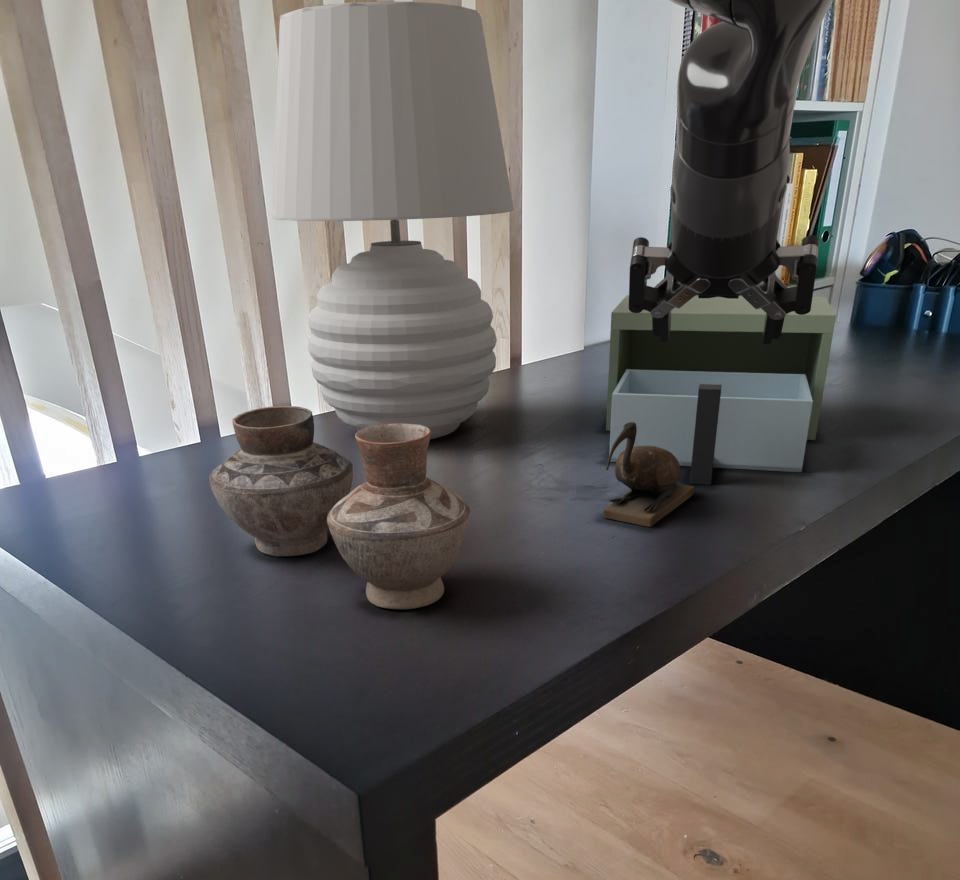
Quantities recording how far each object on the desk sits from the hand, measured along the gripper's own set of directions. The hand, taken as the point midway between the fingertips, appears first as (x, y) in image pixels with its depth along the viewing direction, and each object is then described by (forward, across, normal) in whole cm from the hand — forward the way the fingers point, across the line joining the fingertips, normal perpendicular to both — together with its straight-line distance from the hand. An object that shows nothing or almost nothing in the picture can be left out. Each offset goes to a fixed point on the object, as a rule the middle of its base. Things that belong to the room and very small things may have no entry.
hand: (715, 335), depth 74 cm
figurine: (+5, +5, +15) cm, 17 cm away
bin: (+17, 0, +3) cm, 17 cm away
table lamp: (+21, +34, -1) cm, 40 cm away
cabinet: (+28, 0, -8) cm, 29 cm away
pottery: (-7, +26, +27) cm, 38 cm away
